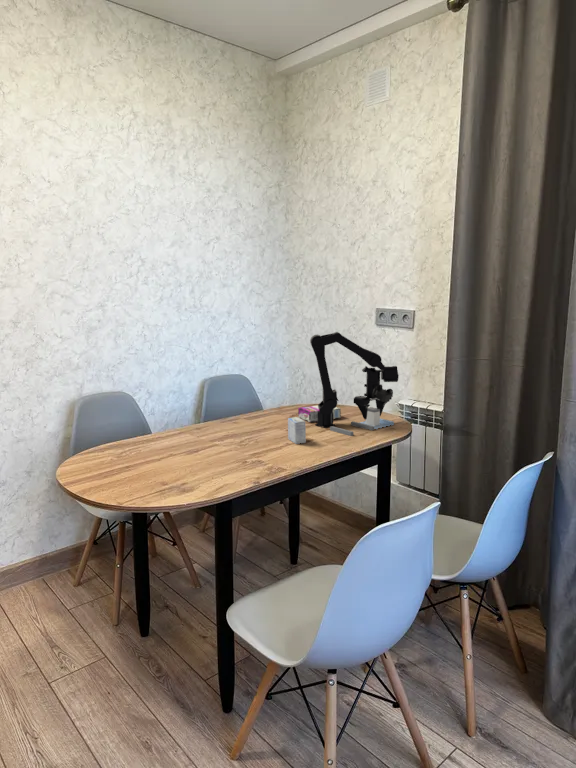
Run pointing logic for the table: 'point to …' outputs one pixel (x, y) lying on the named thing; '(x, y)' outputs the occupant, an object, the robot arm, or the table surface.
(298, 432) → the medicine box
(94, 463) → the table surface
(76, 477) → the table surface
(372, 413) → the grey chamfered block
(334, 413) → the candy bar box
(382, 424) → the rail tray
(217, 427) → the table surface
